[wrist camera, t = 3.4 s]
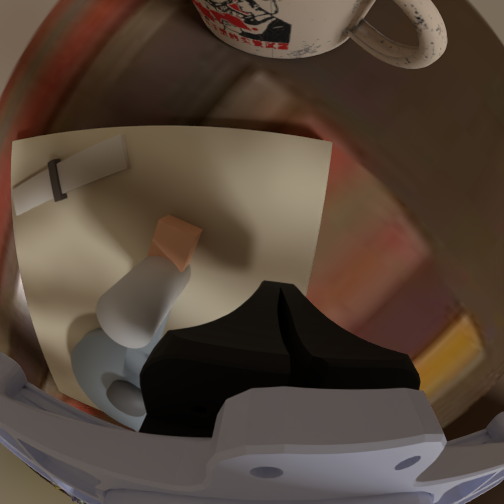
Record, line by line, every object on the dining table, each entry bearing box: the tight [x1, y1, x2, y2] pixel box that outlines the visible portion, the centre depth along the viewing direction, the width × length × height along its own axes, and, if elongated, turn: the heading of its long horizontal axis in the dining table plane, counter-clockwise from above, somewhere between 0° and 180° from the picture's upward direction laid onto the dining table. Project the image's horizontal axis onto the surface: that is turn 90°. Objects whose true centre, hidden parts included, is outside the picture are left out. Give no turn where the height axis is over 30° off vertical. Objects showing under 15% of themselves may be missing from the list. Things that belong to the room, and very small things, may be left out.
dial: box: [71, 214, 203, 431], centre depth 13 cm, size 18×10×5 cm, turn 156°
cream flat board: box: [11, 126, 333, 411], centre depth 15 cm, size 23×20×2 cm
